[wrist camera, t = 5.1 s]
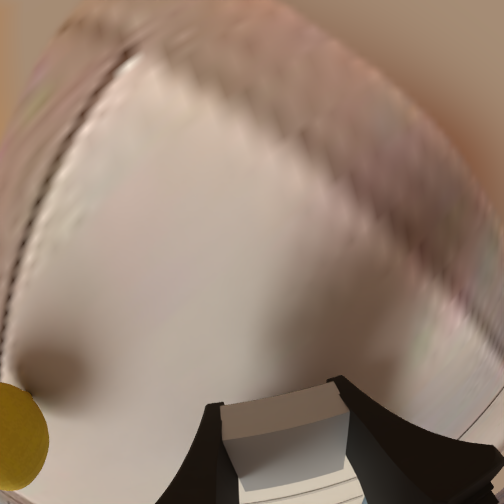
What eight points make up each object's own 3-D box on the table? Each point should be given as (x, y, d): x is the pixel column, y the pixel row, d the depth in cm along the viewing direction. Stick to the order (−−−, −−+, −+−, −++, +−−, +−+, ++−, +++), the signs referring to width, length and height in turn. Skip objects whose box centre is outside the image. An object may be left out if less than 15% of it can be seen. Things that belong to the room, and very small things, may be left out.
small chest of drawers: (355, 504, 13) (362, 520, 12) (237, 530, 13) (240, 547, 11) (387, 363, 9) (408, 388, 8) (160, 412, 9) (154, 445, 7)
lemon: (39, 359, 12) (-29, 461, 4) (79, 428, 13) (45, 526, 6) (-16, 355, 11) (-77, 429, 4) (22, 419, 13) (-18, 496, 5)
